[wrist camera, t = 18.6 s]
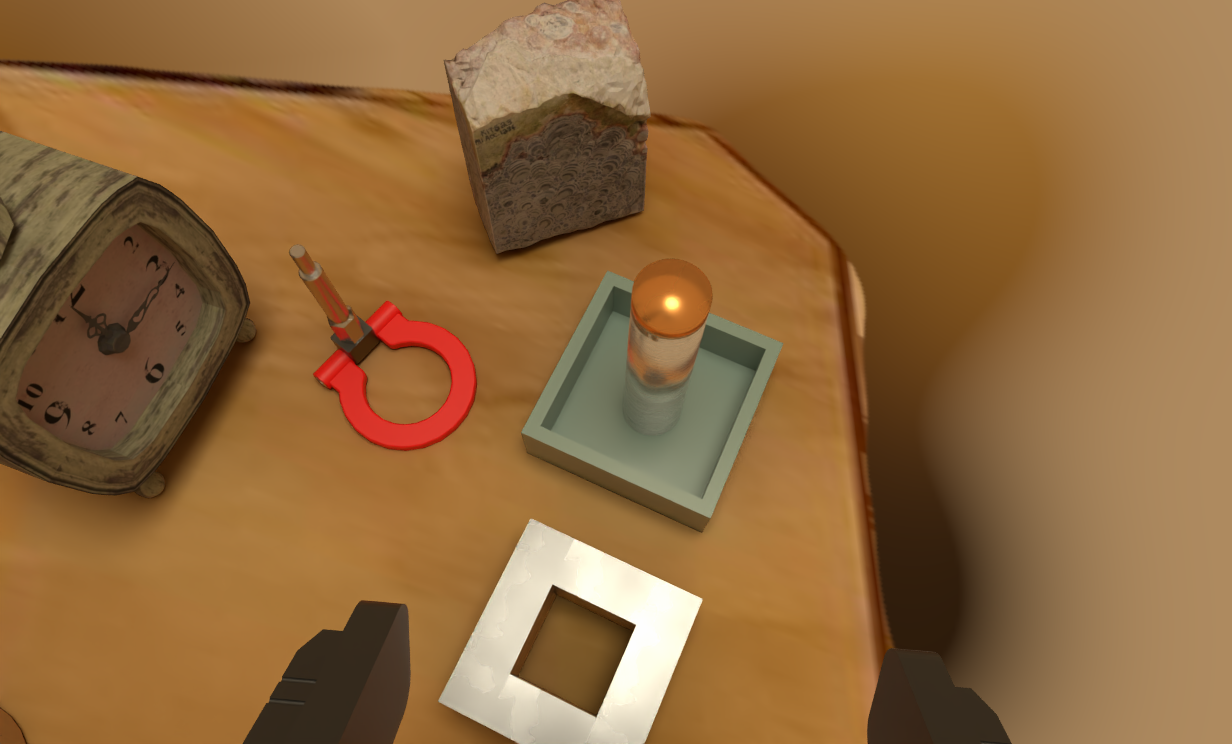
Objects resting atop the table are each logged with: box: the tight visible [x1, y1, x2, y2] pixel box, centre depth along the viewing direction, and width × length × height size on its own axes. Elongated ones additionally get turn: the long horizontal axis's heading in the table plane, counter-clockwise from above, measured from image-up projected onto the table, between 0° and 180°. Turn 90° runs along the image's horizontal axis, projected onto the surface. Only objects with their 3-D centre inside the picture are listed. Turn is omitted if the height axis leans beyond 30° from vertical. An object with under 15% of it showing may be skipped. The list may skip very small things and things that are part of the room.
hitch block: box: [438, 519, 703, 744], centre depth 42 cm, size 10×10×4 cm
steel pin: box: [623, 259, 712, 436], centre depth 42 cm, size 4×4×15 cm
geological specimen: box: [444, 0, 650, 254], centre depth 48 cm, size 11×6×15 cm, turn 112°
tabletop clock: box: [0, 131, 256, 498], centre depth 38 cm, size 14×9×25 cm, turn 160°
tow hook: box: [289, 245, 477, 451], centre depth 44 cm, size 8×13×9 cm
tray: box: [521, 271, 783, 532], centre depth 48 cm, size 12×12×4 cm
